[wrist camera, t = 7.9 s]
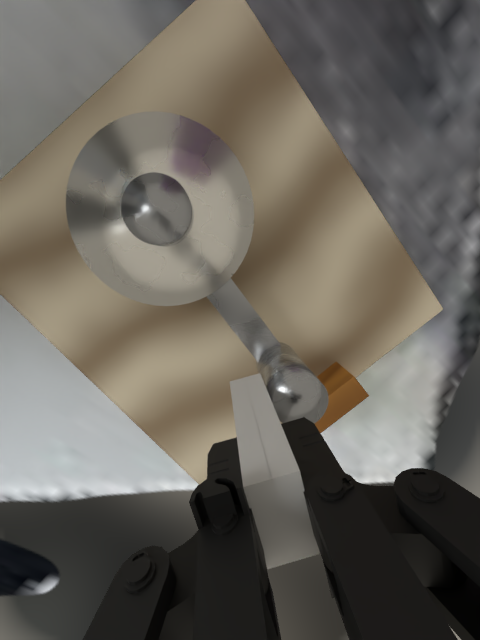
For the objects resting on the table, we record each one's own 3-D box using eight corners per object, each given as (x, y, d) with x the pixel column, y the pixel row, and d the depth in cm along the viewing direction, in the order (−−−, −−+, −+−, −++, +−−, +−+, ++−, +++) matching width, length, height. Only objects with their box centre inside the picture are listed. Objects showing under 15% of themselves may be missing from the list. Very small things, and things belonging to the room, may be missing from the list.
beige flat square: (-38, 237, 17) (-111, 231, 13) (225, -2, 16) (229, -87, 12) (208, 477, 22) (206, 524, 18) (427, 305, 21) (476, 316, 17)
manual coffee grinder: (47, 200, 16) (-59, 164, 10) (180, 91, 15) (158, -20, 9) (226, 410, 19) (232, 481, 13) (341, 327, 18) (403, 360, 12)
